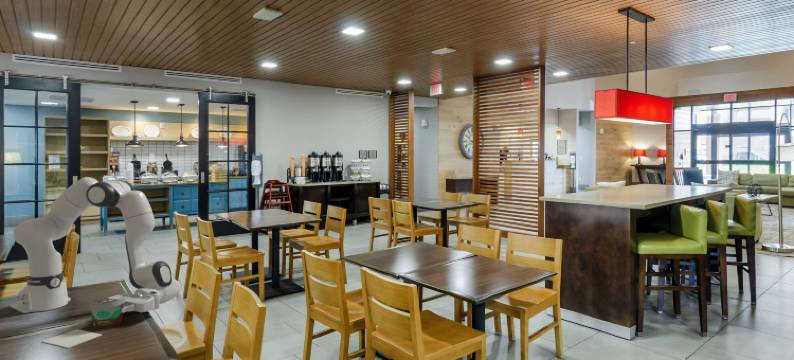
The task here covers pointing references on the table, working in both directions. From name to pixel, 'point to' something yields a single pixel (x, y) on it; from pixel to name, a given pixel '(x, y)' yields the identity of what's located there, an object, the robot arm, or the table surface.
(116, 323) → the food container
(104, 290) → the table surface
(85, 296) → the table surface
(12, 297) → the table surface
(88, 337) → the cream flat rectangular plate
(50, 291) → the robot arm
